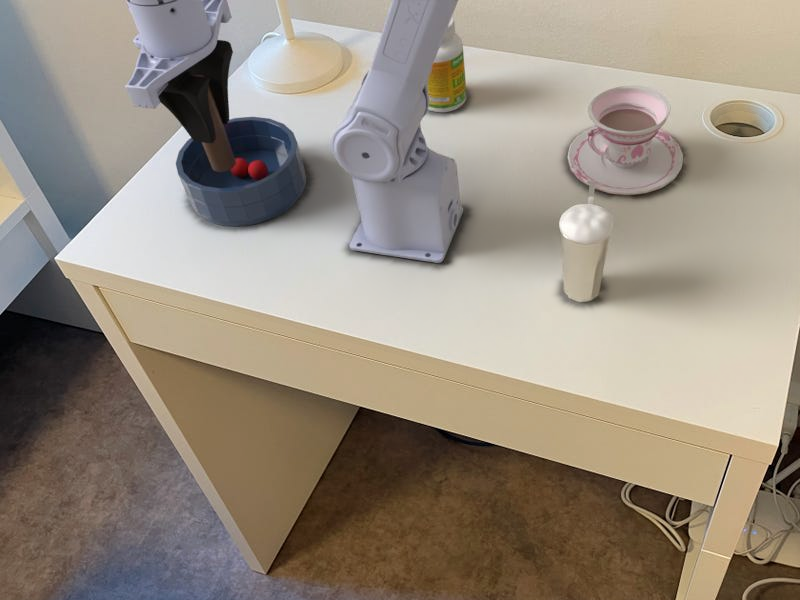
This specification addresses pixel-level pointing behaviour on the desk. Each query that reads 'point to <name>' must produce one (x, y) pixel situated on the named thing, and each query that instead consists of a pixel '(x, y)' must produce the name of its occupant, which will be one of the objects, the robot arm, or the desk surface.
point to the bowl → (245, 196)
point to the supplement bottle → (448, 74)
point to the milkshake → (584, 247)
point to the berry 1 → (240, 168)
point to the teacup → (626, 143)
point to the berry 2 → (258, 170)
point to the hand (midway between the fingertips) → (211, 130)
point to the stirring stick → (218, 141)
